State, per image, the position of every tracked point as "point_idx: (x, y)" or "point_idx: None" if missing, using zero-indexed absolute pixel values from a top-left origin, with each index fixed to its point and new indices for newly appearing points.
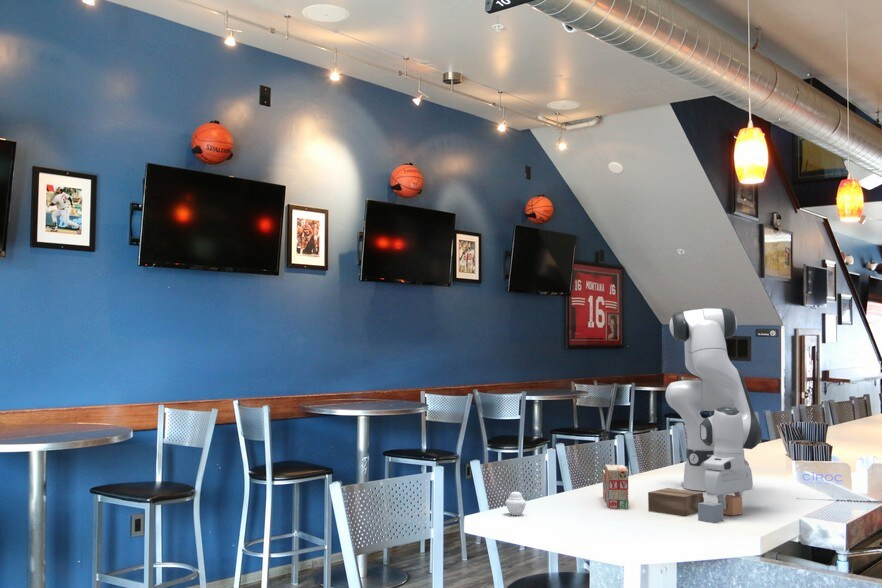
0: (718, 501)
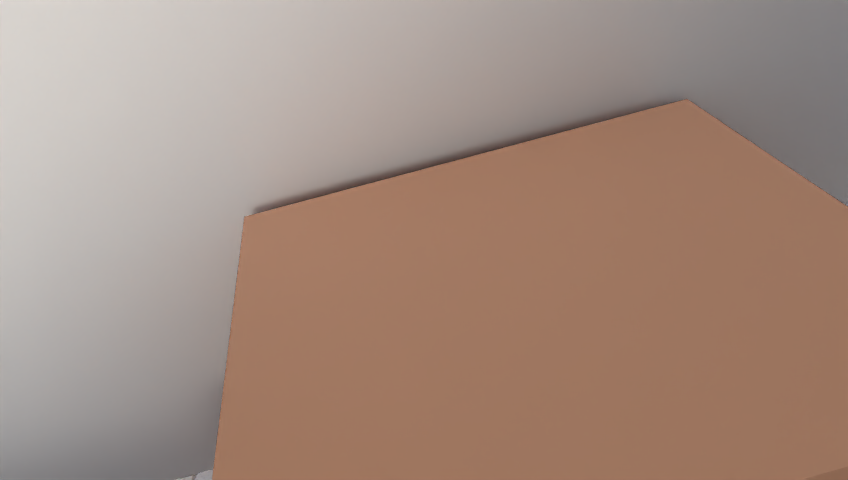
0: (227, 453)
